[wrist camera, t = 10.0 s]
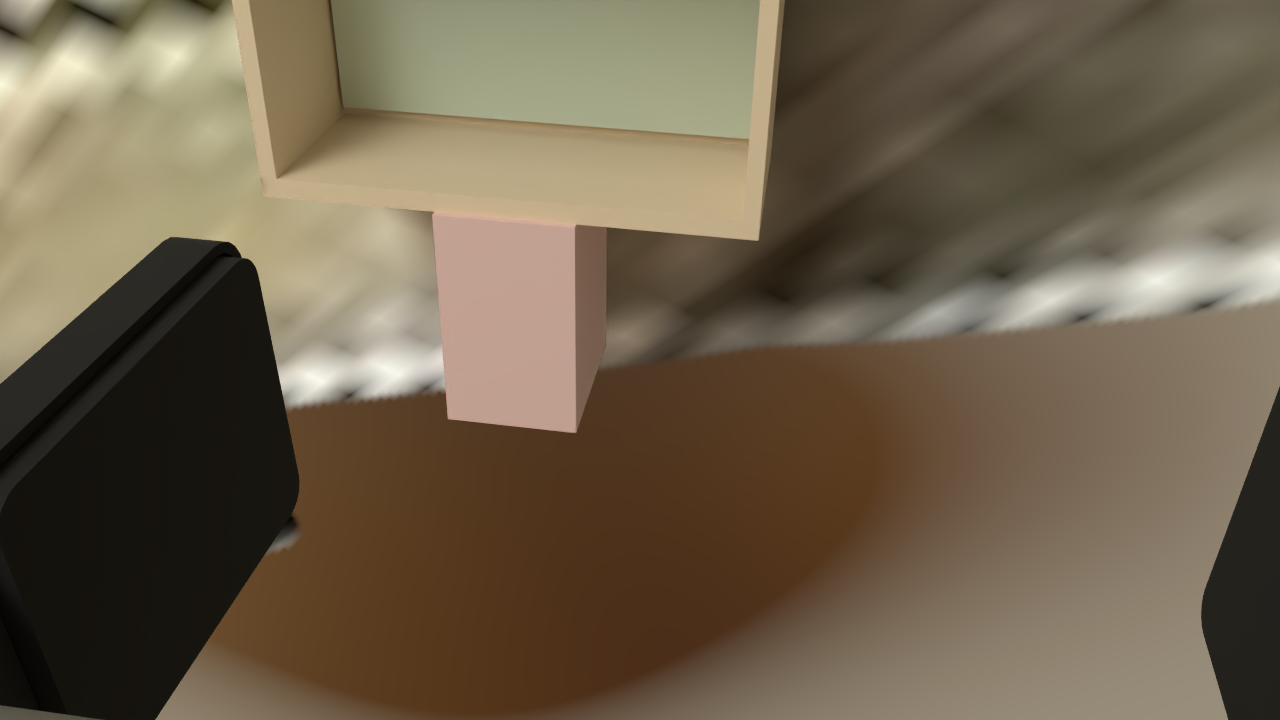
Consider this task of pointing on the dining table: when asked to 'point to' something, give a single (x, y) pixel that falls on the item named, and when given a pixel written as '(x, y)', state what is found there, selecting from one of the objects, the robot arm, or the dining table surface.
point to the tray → (520, 154)
